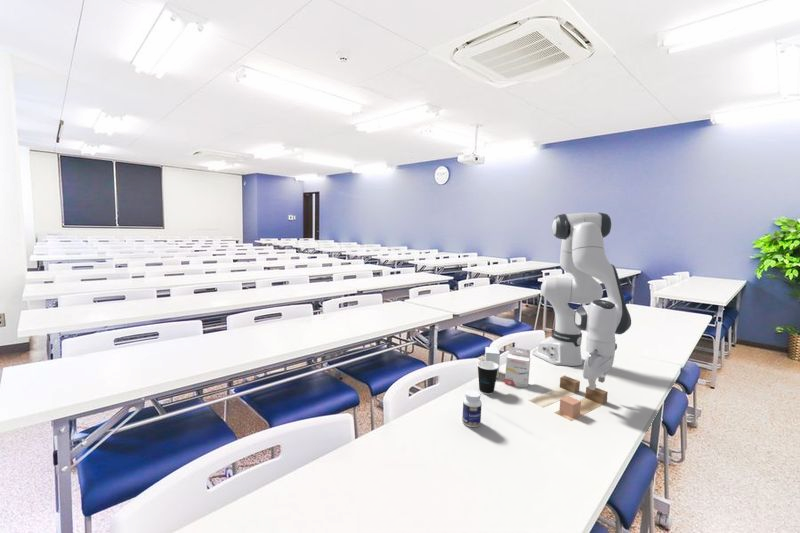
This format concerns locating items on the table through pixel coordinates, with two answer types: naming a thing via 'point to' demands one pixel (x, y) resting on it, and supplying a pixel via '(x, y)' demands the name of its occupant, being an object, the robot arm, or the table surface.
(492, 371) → the dixie cup
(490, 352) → the small box
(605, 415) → the table surface
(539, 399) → the pale ash strip
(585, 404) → the oak strip
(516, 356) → the ink cartridge box
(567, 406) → the terracotta cube
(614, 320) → the robot arm
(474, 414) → the pill bottle
